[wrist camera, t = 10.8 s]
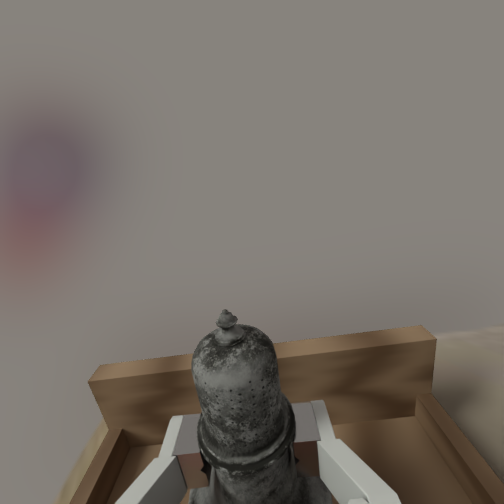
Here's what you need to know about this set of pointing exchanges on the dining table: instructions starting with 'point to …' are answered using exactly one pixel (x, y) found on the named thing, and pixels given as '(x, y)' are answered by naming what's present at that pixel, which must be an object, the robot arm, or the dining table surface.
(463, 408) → the dining table surface
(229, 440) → the stone chess piece
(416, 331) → the tray
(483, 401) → the dining table surface
